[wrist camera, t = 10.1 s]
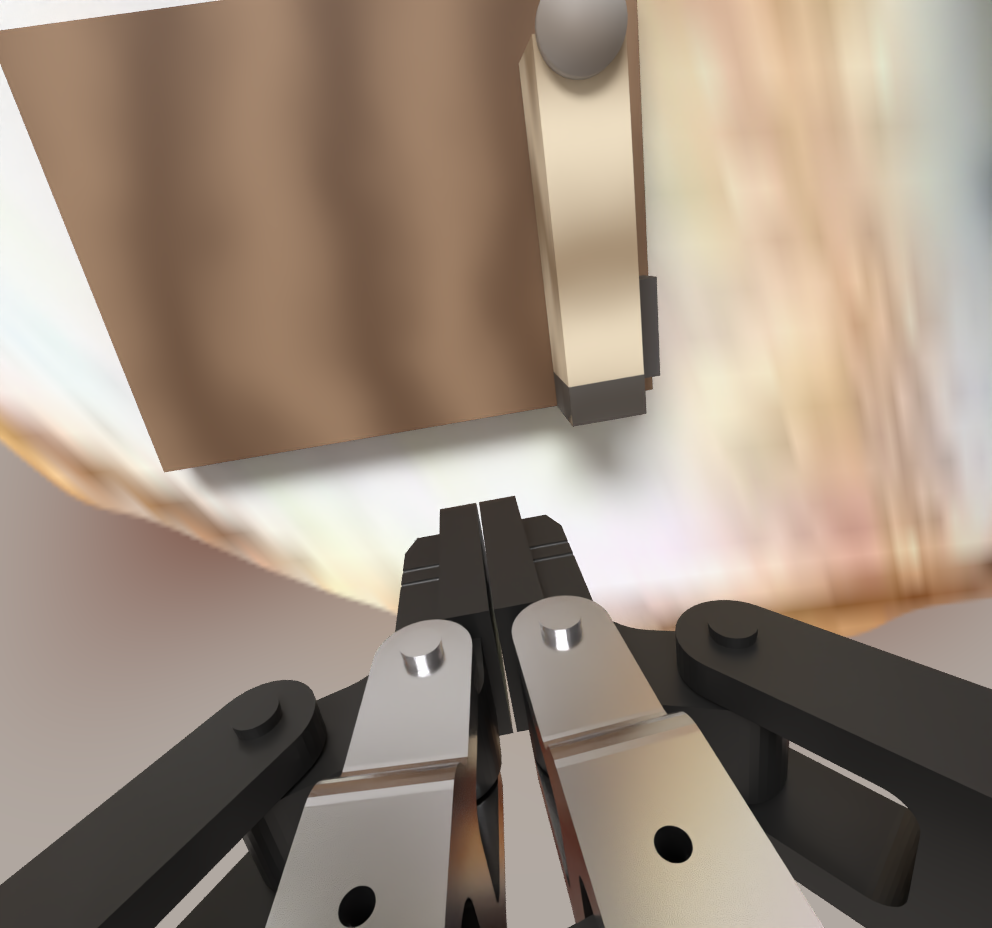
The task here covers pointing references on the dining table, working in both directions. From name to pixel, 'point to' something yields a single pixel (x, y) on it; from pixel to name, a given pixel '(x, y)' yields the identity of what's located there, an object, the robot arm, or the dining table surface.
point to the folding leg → (586, 205)
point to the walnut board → (306, 213)
